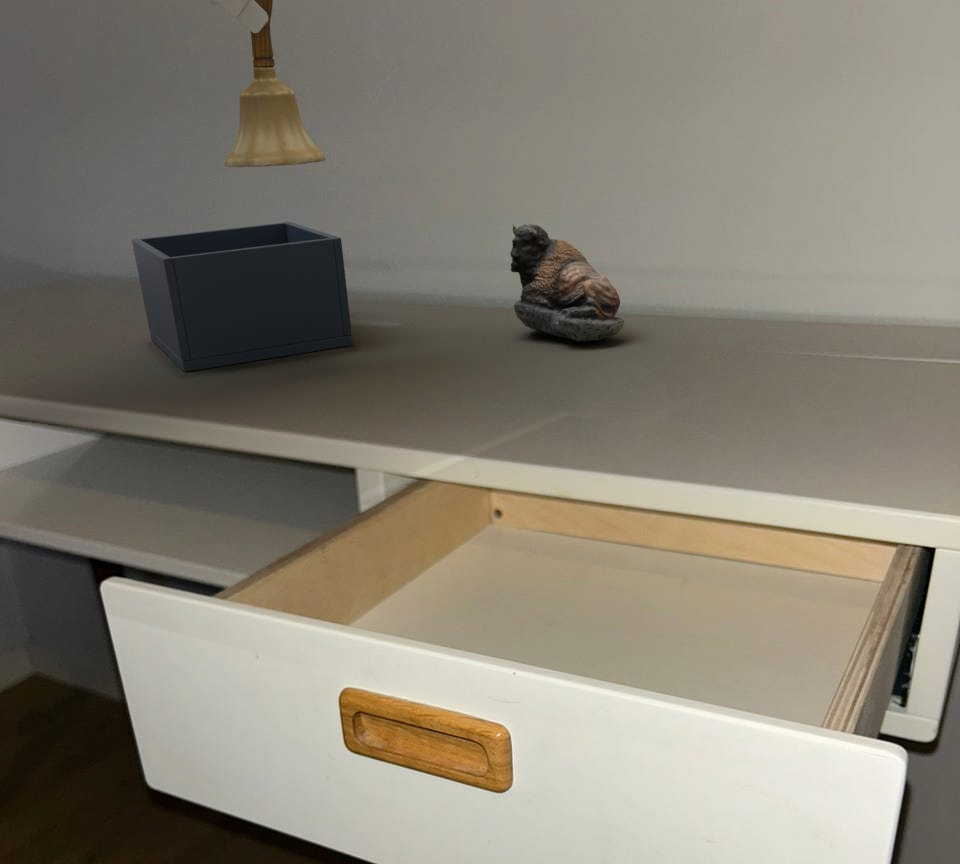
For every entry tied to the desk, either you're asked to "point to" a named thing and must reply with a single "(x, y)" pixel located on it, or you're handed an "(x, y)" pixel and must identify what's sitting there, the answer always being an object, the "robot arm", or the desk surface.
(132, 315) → the desk surface
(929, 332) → the desk surface
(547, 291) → the bison figurine
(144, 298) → the bin
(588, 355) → the desk surface
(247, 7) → the robot arm
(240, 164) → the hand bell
